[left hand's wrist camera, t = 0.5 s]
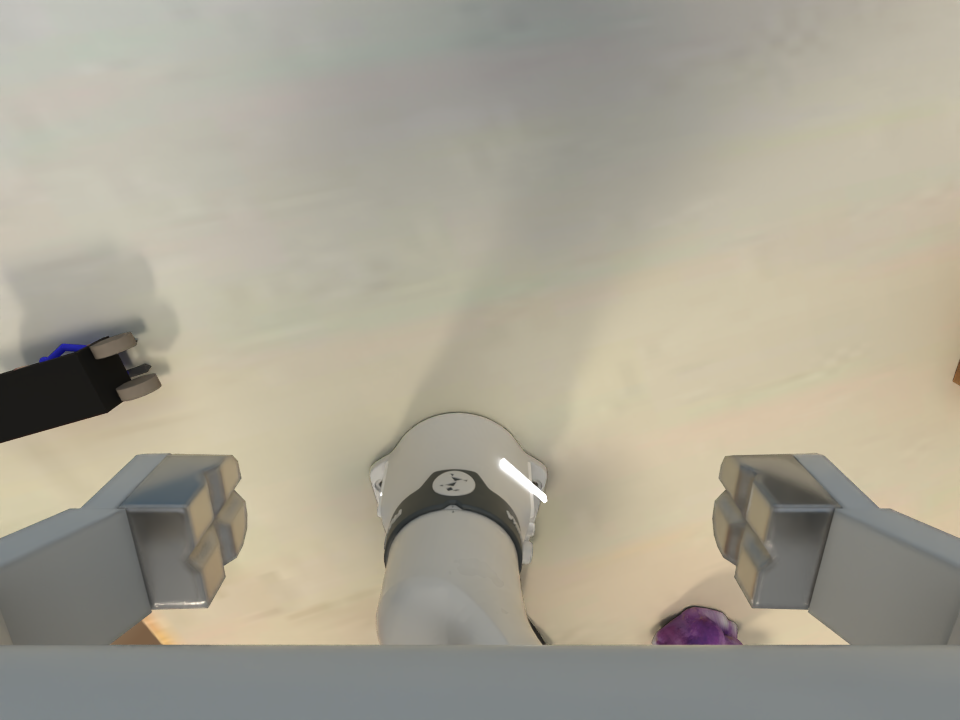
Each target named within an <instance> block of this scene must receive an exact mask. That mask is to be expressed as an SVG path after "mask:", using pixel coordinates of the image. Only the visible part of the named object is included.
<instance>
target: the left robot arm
mask: <svg viewBox="0 0 960 720" xmlns="http://www.w3.org/2000/svg"><path fill="white" fill-rule="evenodd" d="M240 480H241V474H240V469H239V464H238V461H237V460H236V459H235V457H234V456H233V455H208V454H170V453H160V454H141V455H136V456H135V457H134V458H133V459H132V460H131V461H130V462H129V463H128V464H127V465H126V466H124V467H123V468H122V469H121V470H120V471H119V472H118V473H117V474H116V475H115V476H114V477H113V478H112V479H111V480H110V481H109V482H108V483H107V484H106V485H104V486H103V487H102V488H101V489H100V490H99V491H98V492H97V493H96V494H95V495H94V496H93V497H92V498H91V499H90V500H89V501H88V502H87V503H86V504H84V505H83V506H82V507H81V508H80V509H68V510H66V511H63V512H61V513H59V514H56V515H54V516H52V517H49V518H47V519H45V520H42V521H40V522H38V523H35V524H33V525H30V526H28V527H26V528H23V529H21V530H19V531H16V532H14V533H12V534H9V535H7V536H5V537H2V538H0V720H960V538H958V537H955V536H953V535H951V534H948V533H946V532H944V531H941V530H939V529H936V528H934V527H932V526H929V525H927V524H925V523H922V522H920V521H918V520H915V519H913V518H911V517H908V516H906V515H904V514H901V513H899V512H897V511H894V510H892V509H880V508H879V507H878V506H877V505H876V504H875V503H873V502H872V501H871V500H870V499H869V498H868V497H867V496H866V495H865V494H864V493H863V492H862V491H861V490H860V489H859V488H858V487H857V486H856V485H855V484H854V483H852V482H851V481H850V480H849V479H848V478H847V477H846V476H845V475H844V474H843V473H842V472H841V471H840V470H839V469H838V468H837V467H836V466H835V465H834V464H833V463H831V462H830V461H829V460H828V459H827V458H826V457H825V456H823V455H820V454H817V453H807V454H771V455H732V456H725V458H724V460H723V462H722V464H721V468H720V473H719V480H720V481H721V483H722V484H723V486H724V487H725V489H726V490H725V491H724V492H723V493H722V494H721V495H720V496H719V497H718V498H717V499H716V500H715V503H714V510H713V518H712V519H713V530H714V537H715V540H716V543H717V546H718V548H719V550H720V552H721V554H722V556H723V558H725V559H726V560H728V561H730V562H731V563H733V564H734V565H736V571H735V576H734V577H735V579H736V581H737V583H738V584H739V586H740V588H741V590H742V591H743V593H744V595H745V597H746V598H747V600H748V602H749V604H750V605H751V607H752V608H768V609H804V610H808V612H809V613H810V614H811V615H813V616H814V617H815V618H816V619H818V620H819V621H820V622H822V623H823V624H824V625H826V626H827V627H828V628H830V629H831V630H832V631H833V632H835V633H836V634H837V635H839V636H840V637H841V638H843V639H844V640H845V641H846V642H848V643H849V644H850V645H546V644H545V643H544V641H543V639H542V637H541V636H540V634H539V633H538V631H537V630H536V628H535V627H534V626H533V624H532V623H531V622H530V621H529V619H528V618H527V615H526V611H525V606H524V601H523V596H522V590H521V579H520V576H519V575H520V572H521V568H522V564H530V563H531V560H532V554H533V544H532V542H531V541H529V540H530V537H533V536H534V532H535V519H536V516H537V512H538V509H539V505H540V502H541V500H542V501H543V502H544V503H545V502H547V498H546V495H545V494H544V493H543V491H544V488H545V484H546V481H547V468H546V467H545V465H544V464H542V463H541V462H540V461H538V460H537V459H535V458H533V457H532V456H530V455H528V454H526V453H525V452H524V450H523V449H522V448H521V447H520V445H519V444H518V442H517V441H516V440H515V438H514V437H513V436H512V435H511V434H510V433H509V432H508V431H507V430H506V429H504V428H503V427H502V426H500V425H499V424H497V423H495V422H494V421H492V420H489V419H487V418H484V417H481V416H478V415H474V414H468V413H447V414H442V415H437V416H434V417H431V418H428V419H426V420H424V421H422V422H420V423H419V424H417V425H416V426H414V427H413V428H412V429H410V430H409V431H408V432H407V433H406V434H405V435H404V436H403V438H402V439H401V440H400V442H399V443H398V444H397V446H396V447H395V449H394V450H393V451H392V452H391V453H390V454H388V455H386V456H384V457H383V458H381V459H379V460H378V461H376V462H375V463H374V464H373V465H372V466H371V468H370V480H371V484H372V487H373V490H374V493H375V497H376V500H377V503H378V509H377V515H378V517H381V519H382V523H383V527H384V529H385V532H386V538H385V544H384V545H385V546H384V549H385V553H384V563H385V568H386V570H385V575H384V579H383V584H382V589H381V594H380V598H379V603H378V608H377V613H376V630H377V635H378V639H379V643H380V645H110V644H111V643H112V642H114V641H115V640H116V639H118V638H119V637H120V636H122V635H123V634H124V633H125V632H127V631H128V630H129V629H131V628H132V627H133V626H135V625H136V624H137V623H139V622H140V621H141V620H142V619H144V618H145V617H146V616H148V615H149V614H150V613H151V612H152V611H151V610H156V609H191V608H208V607H209V605H210V604H211V602H212V600H213V598H214V597H215V595H216V593H217V591H218V590H219V588H220V586H221V584H222V583H223V581H224V579H225V577H226V576H225V571H224V565H226V564H227V563H229V562H230V561H232V560H234V559H235V558H237V556H238V554H239V552H240V550H241V548H242V546H243V544H244V539H245V535H246V531H247V509H246V502H245V500H244V499H243V498H242V497H241V496H240V495H239V494H238V493H237V492H236V491H235V490H234V489H235V487H236V486H237V484H238V483H239V481H240ZM381 481H382V483H381ZM532 482H536V484H535V485H534V484H532Z"/></svg>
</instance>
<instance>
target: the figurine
mask: <svg viewBox="0 0 960 720" xmlns="http://www.w3.org/2000/svg"><path fill="white" fill-rule="evenodd" d="M652 644H653V645H743V644H742V643H741V642H740V641H739V640H738V639H737V625H736V624H735V623H734V622H732V621H730V620H727V617H726V616H725V615H724V614H723V613H722V612H719V611H716V610H712V609H707V608H701V607H700V608H699V607H692V608H688V609H686V610H685V611H683V612H682V613H681V614H680V615H679V616H677V617H676V618H674V619H673V620H671V621H670V622H669V623H668V624H666V625H665V626H664V627H663V628H661V629H660V630H659V631H657V633H656V634H655V636H654V637H653V640H652Z"/></svg>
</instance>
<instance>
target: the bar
mask: <svg viewBox="0 0 960 720" xmlns="http://www.w3.org/2000/svg"><path fill="white" fill-rule="evenodd" d="M953 382H955V383H956V384H958V385H960V361H959V364H958V367H957V370H956V373H955V376H954V379H953Z"/></svg>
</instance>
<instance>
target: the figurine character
mask: <svg viewBox="0 0 960 720" xmlns="http://www.w3.org/2000/svg"><path fill="white" fill-rule="evenodd" d="M135 345H137V340H135V339H134V337H133V335H132V333H131V332H127V333H123V334H119V335H116V336H113V337H110V338H109V336H107V337H104V338H102V339H100V340H98V341H96V342H94V343H92V344H89V345H75V344H61V345H60V346H59V347H58V348H57V349H56V350H55V351H54V352H53V353H52V354H51V355H50V356H48V357H42V358H40V360H39V363H36V364H33V365H28V366H22V367H19V368H16V369H14V370H12V371H9V372H5V373H2V374H0V443H3V442H6V441H10V440H13V439H17V438H20V437H24V436H27V435H31V434H34V433H38V432H41V431H45V430H48V429H52V428H56V427H59V426H63V425H66V424H70V423H73V422H77V421H80V420H84V419H87V418H91V417H94V416H98V415H101V414H105V413H108V412H109V411H111V410H112V409H113V408H115V407H116V406H117V405H119V404H120V403H122V402H123V401H129V400H133V399H137V398H139V397H142V396H145V395H147V394H149V393H151V392H153V391H155V390H157V389H158V388H160V387H161V383H160V381H159V379H158V377H157V375H156V374H148V375H144V376H141V377H138V378H136V379H133V380H131V378H130V377H134V376H137V375H140V374H143V373H146V372H148V371H149V369H150V368H151V366H149V365H146V364H145V365H141V366H138V367H135V368H132V369H129V370H126V369H125V367H124V365H123V363H122V361H121V359H120V357H119V355H118V353H120V352H123V351H125V350H127V349H130V348H132V347H134V346H135ZM65 351H74V353H71V354H67V355H64V356H61V355H62V354H63V353H64V352H65Z"/></svg>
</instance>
